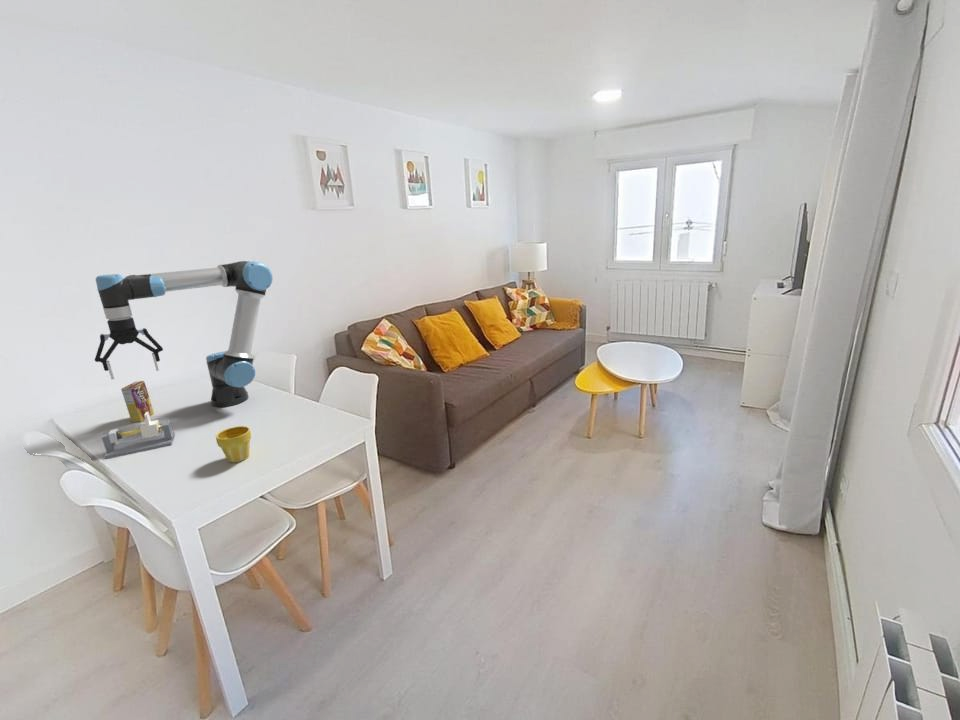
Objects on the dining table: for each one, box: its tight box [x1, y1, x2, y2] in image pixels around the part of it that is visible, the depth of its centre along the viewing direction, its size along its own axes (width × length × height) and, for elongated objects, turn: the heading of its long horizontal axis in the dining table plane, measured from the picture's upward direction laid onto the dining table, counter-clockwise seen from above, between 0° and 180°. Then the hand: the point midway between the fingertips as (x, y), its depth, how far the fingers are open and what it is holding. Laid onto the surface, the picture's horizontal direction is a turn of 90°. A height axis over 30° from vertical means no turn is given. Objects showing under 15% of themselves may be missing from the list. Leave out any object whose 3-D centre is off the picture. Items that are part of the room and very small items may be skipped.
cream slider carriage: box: [139, 412, 162, 439], centre depth 168 cm, size 5×4×8 cm
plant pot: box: [215, 425, 252, 463], centre depth 156 cm, size 10×10×10 cm
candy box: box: [121, 380, 155, 423], centre depth 193 cm, size 9×4×15 cm, turn 2°
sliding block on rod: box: [101, 420, 176, 459], centre depth 168 cm, size 20×10×8 cm, turn 117°
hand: (135, 374), depth 170 cm, fingers open, 13 cm apart
